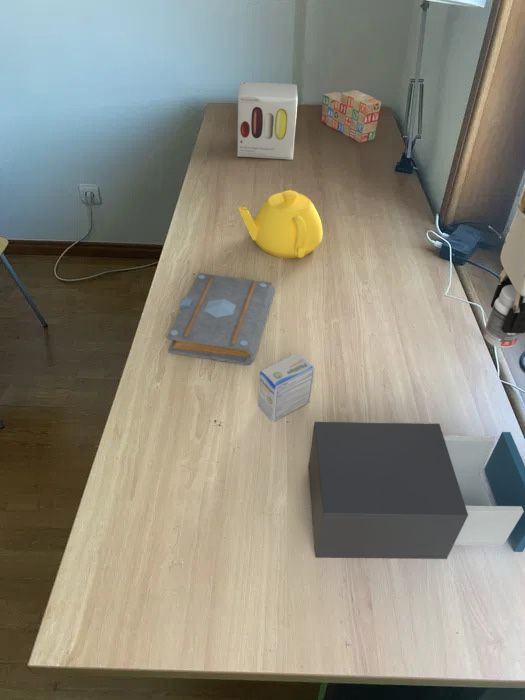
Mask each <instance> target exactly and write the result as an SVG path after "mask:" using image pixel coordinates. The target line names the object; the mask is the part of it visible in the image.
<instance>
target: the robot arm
mask: <svg viewBox="0 0 525 700" xmlns="http://www.w3.org/2000/svg"><path fill="white" fill-rule="evenodd" d="M500 262H501V272H500V274H499V276H498V279H497V281H498V282H497V283H498V284H497V286H496V289H495V292H494V294H493V296H492V300H491V303H490V308H491V309H492V308H493V305H494V303H495V301H496V299H497V298H499V297H500V293H501V291H502V289H503V287H505V286H507V285H513V286H514V288H515V289H516V291H517V294H516V298H515V302H514V306H513V308H510V309H509V311H508V314H507V317H506V319H505V322H504V324H503V327H502V331H503V333H520V334H525V303H522V302H523V298H524V296H525V186H523V189H522V193H521V195H520V198H519V201H518V204H517V207H516V213H515V215H514V218H513V220H512V223H511V225H510V227H509V229H508V232H507V234H506V237H505V239H504V243H503V246H502V249H501V252H500Z"/></svg>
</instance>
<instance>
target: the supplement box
mask: <svg viewBox="0 0 525 700" xmlns="http://www.w3.org/2000/svg"><path fill="white" fill-rule="evenodd" d="M238 90H239V91H238V96H237V147H236V149H237V150H236V151H237V152H236V156H237V158H258V159H259V158H260V159H273V160H290V161H293V160H294V150H295V137H296V126H297V114H298V113H297V112H298V100H299V99H298V84H297V83H296V84H295V83H278V82H256V81H255V82H254V81H240V83H239V89H238Z"/></svg>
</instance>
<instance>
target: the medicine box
mask: <svg viewBox="0 0 525 700" xmlns="http://www.w3.org/2000/svg"><path fill="white" fill-rule="evenodd" d="M314 374H315V366H314V365H312V363H310V361H308V360H307V359H306V358H305V357H304V356H302V355H301V354H300V353H298V352H296V353H294V354H292V355H290V356H288V357H286V358H284V359H281V360H280V361H278V362H275V363H274V364H271V365H270V366H267V367H266V368H263V369H262V370H260V371H259V381H258V385H259V386H258V407H259V408H260V410H261V411H262V412H263V413H264V414H265V415H266V416H267V417H268V418H269V420H271V422H273V423H275V422H276V421H278V420H280V419H282V418H284V417H286V416H287V415H289V414H292V413H293V412H295V411H296V410H298V409H300V408H301V407H303V406H305V405H307V404H309V403H310V402H311V396H312V388H313V381H314Z"/></svg>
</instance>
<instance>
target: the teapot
mask: <svg viewBox="0 0 525 700" xmlns="http://www.w3.org/2000/svg"><path fill="white" fill-rule="evenodd" d="M238 212H239V213H240V216H241V218H242V220H243V222H244V225H245V226H246V229H247V231H248V233H249V235H250V237H251V240H252V241H254V242H255V243H256V245H257V246H258V247H259V248H260V249H261V250H262V251H263V252H265V253H267V254H268V255H271V256H273V257H277V258H282V259H283V258H284V259H293V258H298V259H302V258H304V257H305V256H306V255H309V254H310V253H311V252H313V251H314V250H315V249H316V248H318V247H319V245H321V242H322V241H323V225H322V224H323V223H322V221H321V217H320V215H319V213H318V211H317V209H316V207H315V205H314V203H313V202H312V201H311V199H310V198H309V197H308V196H306V195H304V194H302V193H299V192H297V191H295V190H291V189H289V190H284V191H281V192H276V193H274V194H272V195H270V196H269V197H268V198H267V199H266V201H265V202H264V203H263V204H262V206H261V207H260V208H259V210H258V211H257V214H256V216H255V218H254V217H253V216H252V214H251V213H250V210H248V206H242V207H241V206H240V207H238Z"/></svg>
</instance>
